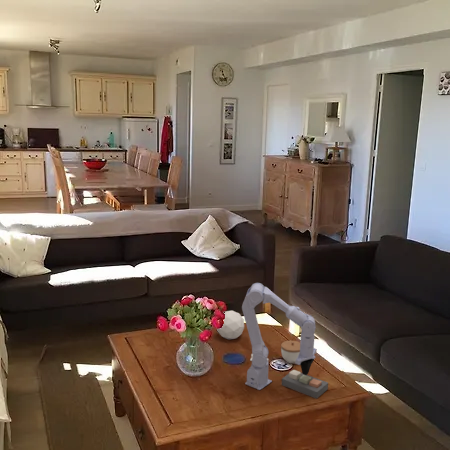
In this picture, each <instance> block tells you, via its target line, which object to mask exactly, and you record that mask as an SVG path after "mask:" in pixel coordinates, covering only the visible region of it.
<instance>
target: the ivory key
mask: <svg viewBox="0 0 450 450" xmlns="http://www.w3.org/2000/svg"><path fill="white" fill-rule="evenodd" d="M301 373H302V371H300V370H299V371H298V370H296V369H292V370H291V371H289V372H288V374H289V378H291V379H294V380H298V379H299V378H300V377H301Z"/></svg>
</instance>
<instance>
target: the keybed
mask: <svg viewBox="0 0 450 450" xmlns="http://www.w3.org/2000/svg"><path fill="white" fill-rule="evenodd" d="M302 375H304V374H302V372H301V376H302ZM305 376H308V377H311V380H312V379H316V380H319V381H322V384H321V386H320V387H319V388H315V387H312V386H310V385H309V383H308V384H305V383H302V382H299V379H298V380H294V379H291V378H289V373H287V374H286V375H285V376H283V377H282V378H281V386H282V387H285V388H288V389H290V390H293V391H296V392H298V393H301V394H303V395H306V396H309V397H312V398H313V399H318V398H319V397H321V395H323V394H324V393H325V392H327V391H328V390H329V389H328V388H329V382H327V381H325V380H321V379H319V378H317V377H314V376H312V375H308V374H307V375H305Z"/></svg>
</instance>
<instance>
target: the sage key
mask: <svg viewBox="0 0 450 450" xmlns="http://www.w3.org/2000/svg"><path fill="white" fill-rule="evenodd" d="M311 377H312V376H311ZM311 377H308V376H305V375H302V376H301V377H300V378H299V382H302V383H305V384H308V383H309V382H310V381H311Z"/></svg>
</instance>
